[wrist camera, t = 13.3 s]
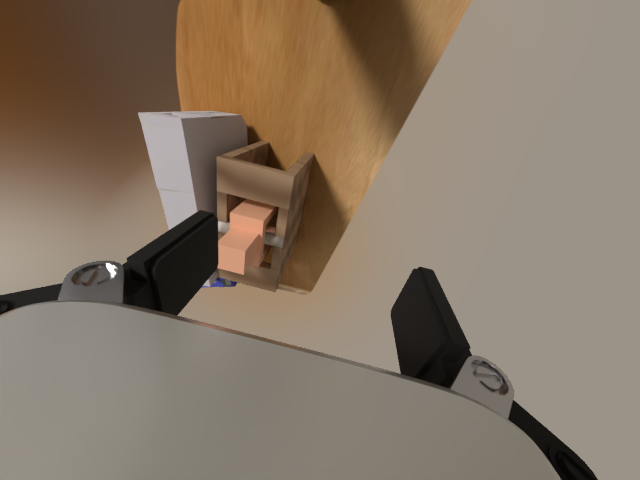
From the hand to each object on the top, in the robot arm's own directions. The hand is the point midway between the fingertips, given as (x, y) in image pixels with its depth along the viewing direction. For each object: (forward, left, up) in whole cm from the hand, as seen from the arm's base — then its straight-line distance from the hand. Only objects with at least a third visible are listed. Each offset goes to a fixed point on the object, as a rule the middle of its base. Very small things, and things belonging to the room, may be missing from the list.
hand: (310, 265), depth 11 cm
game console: (+13, -21, -41) cm, 48 cm away
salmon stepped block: (+14, -11, -32) cm, 36 cm away
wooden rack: (+14, -11, -40) cm, 44 cm away
